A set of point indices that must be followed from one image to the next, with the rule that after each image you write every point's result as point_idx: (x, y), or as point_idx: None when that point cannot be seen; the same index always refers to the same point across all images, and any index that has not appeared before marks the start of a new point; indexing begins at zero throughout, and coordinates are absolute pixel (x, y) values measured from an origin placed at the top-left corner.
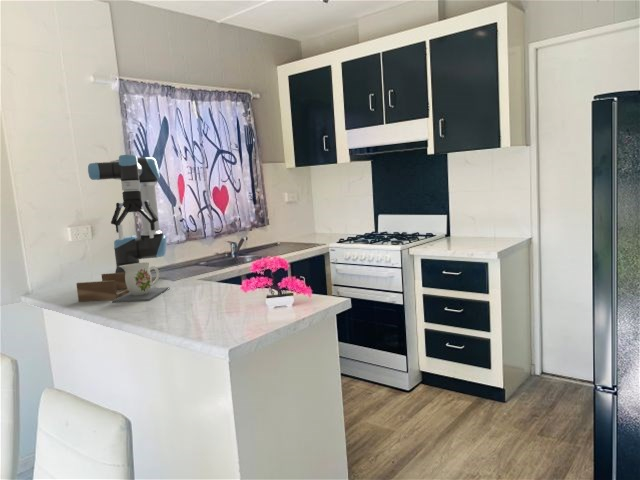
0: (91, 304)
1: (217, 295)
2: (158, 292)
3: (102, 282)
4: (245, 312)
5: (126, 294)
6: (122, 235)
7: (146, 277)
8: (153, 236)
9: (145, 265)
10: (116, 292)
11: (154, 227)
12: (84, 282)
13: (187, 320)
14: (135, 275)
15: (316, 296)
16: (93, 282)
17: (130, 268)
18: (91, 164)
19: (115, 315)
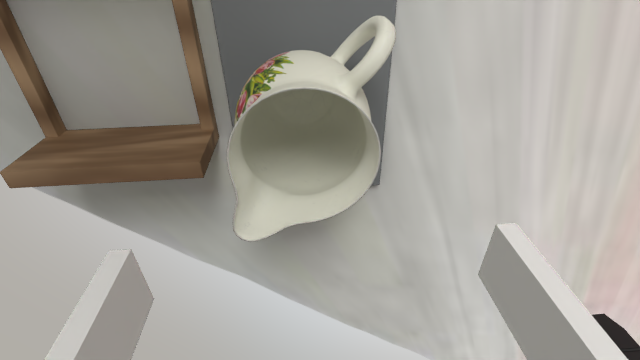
0: (173, 197)
1: (606, 153)
2: (380, 82)
3: (147, 179)
4: (621, 309)
5: (234, 89)
6: (117, 309)
7: (359, 153)
8: (522, 237)
9: (370, 180)
10: (211, 135)
11: (637, 357)
12: (38, 174)
13: (508, 338)
14: (319, 188)
15: None
16: (99, 182)
17: (296, 210)
18: None
19: (342, 304)
